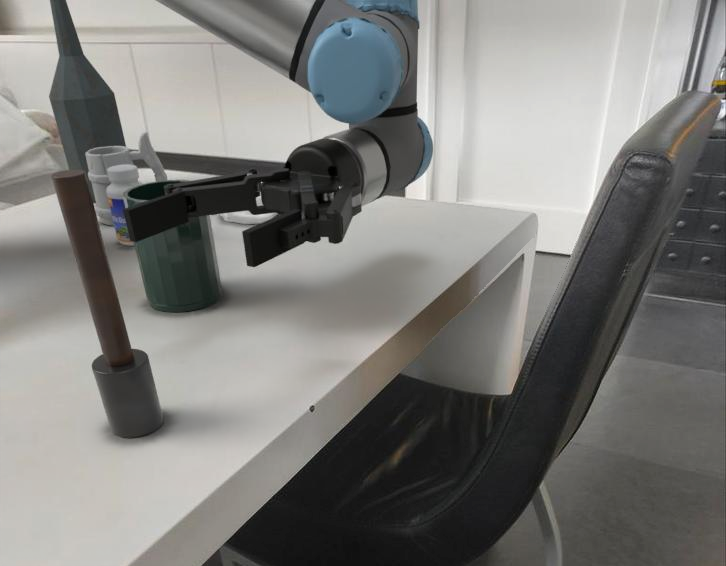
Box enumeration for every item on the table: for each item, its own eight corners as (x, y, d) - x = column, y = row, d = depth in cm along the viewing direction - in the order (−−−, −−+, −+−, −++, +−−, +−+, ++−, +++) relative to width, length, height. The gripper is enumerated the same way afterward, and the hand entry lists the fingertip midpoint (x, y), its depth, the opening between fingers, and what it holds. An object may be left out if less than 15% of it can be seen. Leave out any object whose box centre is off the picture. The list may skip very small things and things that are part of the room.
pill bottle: (110, 242, 98) (91, 169, 92) (139, 232, 101) (123, 161, 95) (136, 248, 95) (118, 174, 89) (165, 237, 99) (150, 165, 93)
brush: (99, 432, 57) (18, 179, 45) (132, 406, 61) (65, 164, 48) (142, 442, 56) (71, 183, 44) (174, 415, 59) (115, 167, 47)
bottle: (141, 186, 123) (96, -22, 105) (131, 201, 115) (80, -20, 97) (83, 189, 122) (27, -18, 104) (69, 204, 115) (6, -17, 96)
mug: (103, 213, 110) (82, 130, 102) (178, 209, 110) (162, 126, 103) (93, 228, 104) (69, 141, 96) (171, 223, 104) (154, 136, 97)
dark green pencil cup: (133, 307, 79) (105, 198, 71) (176, 280, 85) (155, 177, 78) (196, 316, 76) (174, 204, 69) (236, 288, 82) (220, 182, 75)
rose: (275, 174, 108) (284, 190, 100) (278, 204, 110) (287, 221, 103) (211, 180, 106) (215, 197, 98) (216, 210, 109) (220, 228, 101)
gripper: (440, 231, 67) (310, 309, 53) (246, 201, 78) (98, 258, 64) (442, 147, 62) (301, 208, 48) (236, 128, 74) (74, 173, 60)
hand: (185, 237), depth 56 cm, fingers open, 13 cm apart
